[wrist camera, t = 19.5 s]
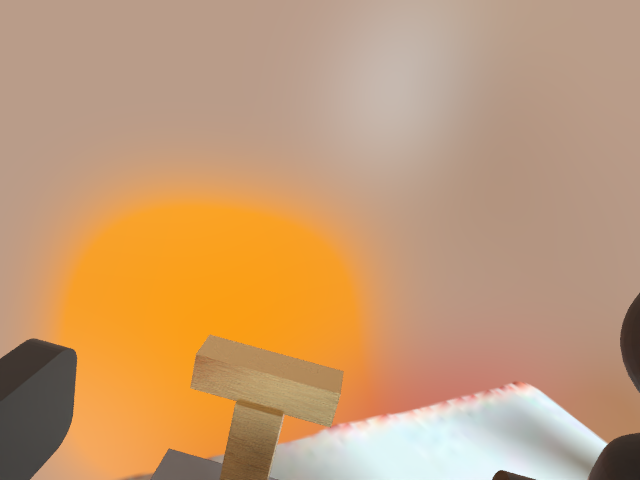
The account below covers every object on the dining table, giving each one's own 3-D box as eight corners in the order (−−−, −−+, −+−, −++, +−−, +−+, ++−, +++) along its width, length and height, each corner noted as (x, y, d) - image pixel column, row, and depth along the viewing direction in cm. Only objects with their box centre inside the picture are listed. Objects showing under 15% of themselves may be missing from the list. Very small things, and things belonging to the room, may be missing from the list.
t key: (285, 568, 36) (343, 368, 30) (277, 608, 33) (340, 397, 28) (175, 535, 37) (211, 332, 31) (158, 572, 34) (194, 356, 28)
